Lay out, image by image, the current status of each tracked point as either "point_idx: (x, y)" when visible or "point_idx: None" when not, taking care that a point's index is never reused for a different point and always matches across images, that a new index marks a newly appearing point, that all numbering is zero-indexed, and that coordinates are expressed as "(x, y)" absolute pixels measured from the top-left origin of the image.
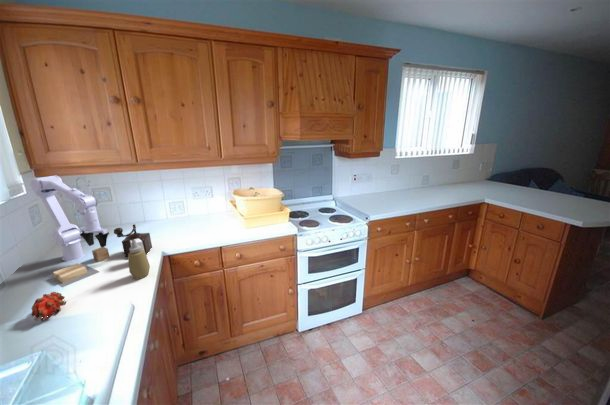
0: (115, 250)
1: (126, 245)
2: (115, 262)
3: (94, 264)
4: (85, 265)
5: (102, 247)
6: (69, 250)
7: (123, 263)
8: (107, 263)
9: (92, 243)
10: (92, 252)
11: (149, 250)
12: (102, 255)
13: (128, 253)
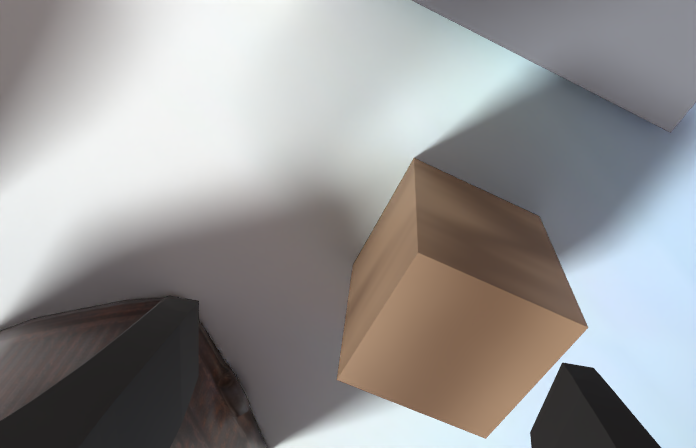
0: (460, 440)
1: None
2: (193, 180)
3: (457, 119)
4: (555, 55)
5: (469, 416)
6: None
7: (56, 157)
8: (282, 152)
9: (546, 443)
10: (568, 298)
11: None
12: (384, 258)
13: (114, 337)
